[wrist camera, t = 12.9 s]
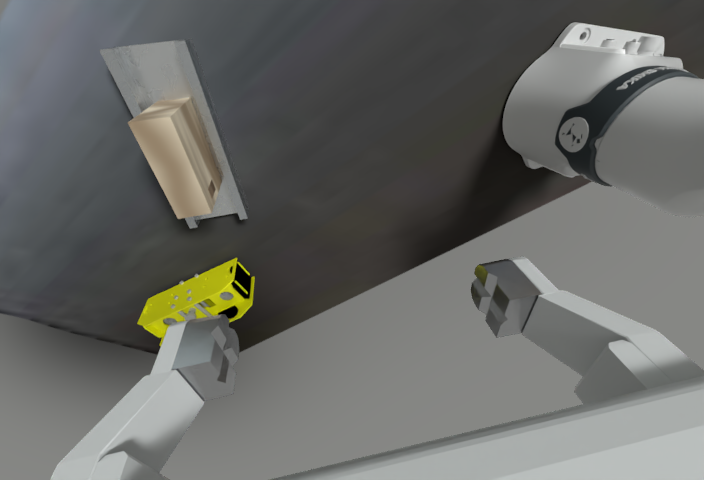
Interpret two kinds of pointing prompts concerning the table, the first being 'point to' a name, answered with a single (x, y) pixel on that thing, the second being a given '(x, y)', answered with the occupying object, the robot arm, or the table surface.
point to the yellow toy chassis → (201, 298)
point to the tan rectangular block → (179, 155)
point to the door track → (176, 83)
